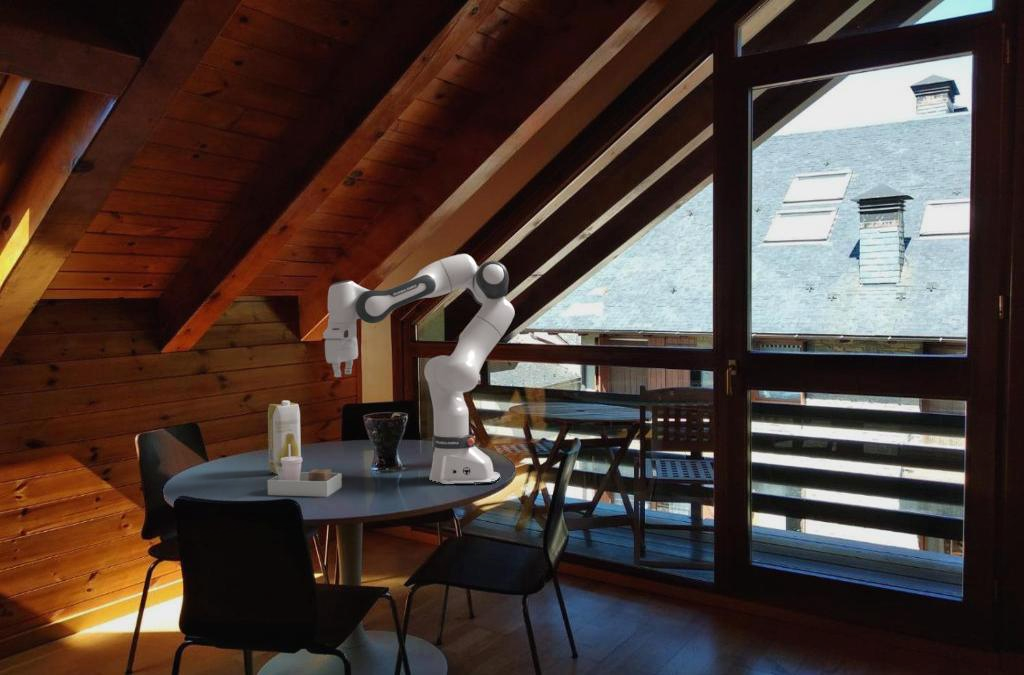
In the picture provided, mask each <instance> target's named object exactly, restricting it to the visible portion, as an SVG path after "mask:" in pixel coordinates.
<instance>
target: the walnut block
mask: <svg viewBox="0 0 1024 675" xmlns="http://www.w3.org/2000/svg"><path fill="white" fill-rule="evenodd" d="M308 472H309V473H308V481H322V482H326V481H328V480H329V479H331V473H332V469H324V468H323V469H322V468H320V469H319V468H315V469H311V471H308Z"/></svg>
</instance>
